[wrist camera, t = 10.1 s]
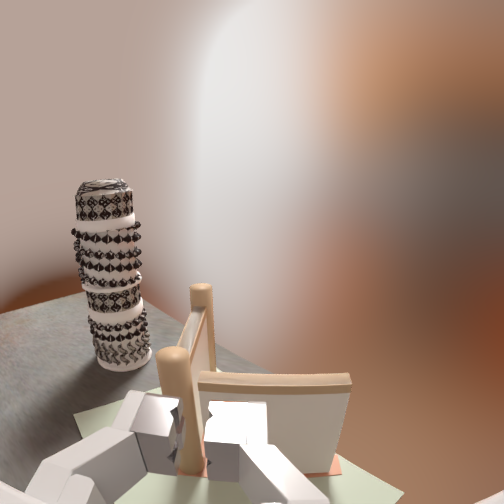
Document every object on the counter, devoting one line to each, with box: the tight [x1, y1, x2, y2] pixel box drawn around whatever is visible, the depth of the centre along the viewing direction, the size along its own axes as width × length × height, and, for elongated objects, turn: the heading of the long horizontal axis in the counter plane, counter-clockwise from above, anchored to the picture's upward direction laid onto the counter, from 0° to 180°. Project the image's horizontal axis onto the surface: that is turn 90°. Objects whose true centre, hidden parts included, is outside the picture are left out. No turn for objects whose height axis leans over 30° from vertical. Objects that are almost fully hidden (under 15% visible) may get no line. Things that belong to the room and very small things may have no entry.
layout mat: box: [73, 368, 404, 504], centre depth 25 cm, size 29×20×1 cm
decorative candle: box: [71, 179, 152, 372], centre depth 40 cm, size 9×9×25 cm
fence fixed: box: [155, 283, 217, 475], centre depth 30 cm, size 16×2×14 cm, turn 179°
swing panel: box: [197, 371, 352, 474], centre depth 23 cm, size 11×1×11 cm, turn 87°
